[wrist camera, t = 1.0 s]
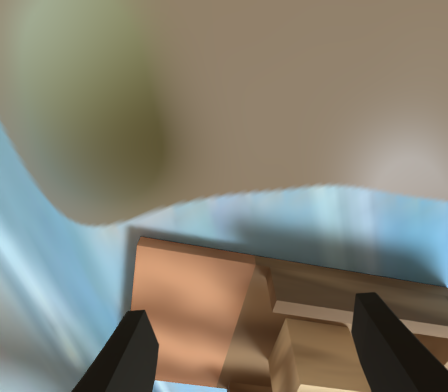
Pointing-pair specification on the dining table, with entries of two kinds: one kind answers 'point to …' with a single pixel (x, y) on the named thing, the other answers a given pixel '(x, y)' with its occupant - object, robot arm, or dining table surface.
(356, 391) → the maple block
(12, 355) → the dining table surface
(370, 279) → the brown wooden tray
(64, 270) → the dining table surface
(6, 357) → the dining table surface
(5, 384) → the dining table surface
